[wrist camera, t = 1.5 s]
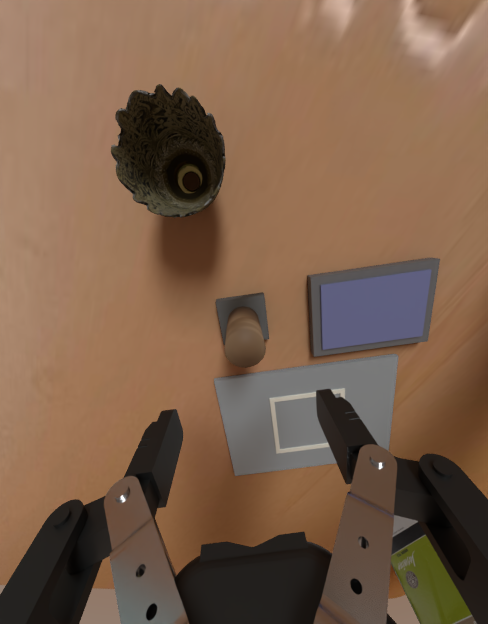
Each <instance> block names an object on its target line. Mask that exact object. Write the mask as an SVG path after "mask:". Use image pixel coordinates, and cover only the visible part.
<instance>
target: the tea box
mask: <svg viewBox="0 0 488 624" xmlns="http://www.w3.org/2000/svg"><path fill="white" fill-rule="evenodd" d="M391 564H392V567H393V569H394V571H395V573H396V575H397V577H398V579H399V581H400V583H401V585H402V587H403V589H404V591H405V594H406V596H407V598H408V600H409V602H410V604H411V606H412V608H413V610H414V612H415V614H416V616H417V618H418V620H419V622H420V624H477V623H476V621H475V619H474V618H473V616H472V614H471V612H470V611H469V609H468V607H467V605H466V604H465V602H464V600H463V599H462V597H461V595H460V593H459V592H458V590H457V588H456V586H455V585H454V583H453V581H452V579H451V578H450V576H449V574H448V573H447V571H446V569H445V567H444V566H443V564H442V562H441V560H440V559H439V557H438V555H437V553H436V552H435V550H434V548H433V547H432V545H431V543H430V541H429V540H428V538H427V536H426V534H425V533H424V531H423V529H422V527H421V526H420V524H419V522H418V521H416V520H412V519H408V518H404V517H400V516H396V515H394V526H393V539H392V553H391Z"/></svg>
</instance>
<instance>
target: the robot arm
mask: <svg viewBox="0 0 488 624" xmlns="http://www.w3.org/2000/svg"><path fill="white" fill-rule="evenodd" d="M316 408H317V417H318V421H319V423H320V426H321V428H322V430H323V433H324V435H325V437H326V439H327V442H328V444H329V446H330V448H331V451H332V453H333V455H334V458H335V460H336V462H337V464H338V467H339V469H340V471H341V474H342V476H343V478H344V480H345V483H346V484H351V488H350V492H348V493H347V496H346V500H345V504H344V508H343V512H342V516H341V520H340V524H339V528H338V533H337V537H336V541H335V545H334V549H333V553H330V552H329V551H328V550H326V549H325V548H323V547H321V546H319V545H317V544H314V543H312V542H307V541H306V537H305V533H304V532H298V533H290V534H283V535H278V536H276V537H274V538H272V539H270V540H268V541H266V542H264V543H262V544H260V545H258V546H255V547H248V546H244V545H239V544H235V543H230V542H220V543H213V544H205V545H201V554H200V556H198V557H197V558H195V559H194V560H192V561H191V562H190V563H188V564H187V565H186V566H185V567H184V568H183V569H182V570H181V571H180V572H179V573H178V575H176V572H175V570H174V567H173V565H172V562H171V560H170V557H169V555H168V552H167V549H166V547H165V544H164V541H163V538H162V536H161V533H160V530H159V528H158V525H157V522H156V520H155V515H156V511H157V508H162V507H166V504H167V500H168V496H169V492H170V488H171V484H172V481H173V477H174V473H175V469H176V465H177V461H178V457H179V453H180V449H181V445H182V441H183V429H182V426H181V423H180V419H179V416H178V413H177V410H176V409H173V410H165V411H162V412H161V413H160V416H159V418H158V421H157V422H152V423H151V424H150V426H149V427H148V428H147V429H146V430H145V432H144V434H143V437H142V439H141V441H140V443H139V445H138V448H137V450H136V452H135V454H134V456H133V458H132V461H131V463H130V465H129V467H128V469H127V472H126V474H125V476H124V478H122V479H121V480H119V481H118V482H116V483H115V484H114V485H113V486H112V487H111V488H110V490H109V491H108V492H107V494H106V496H104V497H102V498H100V499H98V500H95V501H93V502H91V503H89V504H87V505H83V503H82V502H81V501H80V500H76V499H75V500H70V501H68V502H66V503H64V504H62V505H61V506H60V507H58V508H57V509H56V510H55V511H54V512H53V513H52V514H51V515H50V516H49V517H48V518H47V520H46V521H45V523H44V524H43V526H42V528H41V529H40V531H39V533H38V534H37V536H36V537H35V539H34V541H33V542H32V544H31V546H30V547H29V549H28V550H27V552H26V554H25V555H24V557H23V559H22V560H21V562H20V563H19V565H18V567H17V568H16V570H15V572H14V573H13V575H12V576H11V578H10V580H9V581H8V583H7V585H6V586H5V588H4V589H3V591H2V593H1V594H0V624H79V622H80V620H81V617H82V614H83V611H84V609H85V606H86V603H87V600H88V597H89V595H90V592H91V590H92V587H93V584H94V581H95V579H96V576H97V573H98V570H99V568H100V565H101V562H102V560H103V559H104V558H106V557H108V556H110V563H111V569H112V575H113V581H114V586H115V592H116V597H117V604H118V609H119V615H120V621H121V624H396V623H395V621H394V620H393V619H392V618H391V617H390V616H389V615H388V614H387V607H388V593H389V580H390V566H391V553H392V539H393V526H394V515H396V516H400V517H404V518H408V519H412V520H416V521H418V522H419V524H420V526H421V527H422V529H423V531H424V533H425V534H426V536H427V538H428V540H429V541H430V543H431V545H432V547H433V548H434V550H435V552H436V553H437V555H438V557H439V559H440V560H441V562H442V564H443V566H444V567H445V569H446V571H447V573H448V574H449V576H450V578H451V579H452V581H453V583H454V585H455V586H456V588H457V590H458V592H459V593H460V595H461V597H462V599H463V600H464V602H465V604H466V605H467V607H468V609H469V611H470V612H471V614H472V616H473V618H474V619H475V621H476V623H477V624H488V499H487V498H486V497H485V496H484V495H483V493H482V492H481V491H480V490H479V489H478V488H477V487H476V485H475V484H474V483H473V482H472V481H471V480H470V479H469V478H468V476H467V475H466V474H465V473H464V472H463V471H462V470H461V469H460V468H459V467H458V466H457V465H456V464H455V463H454V462H452V461H451V460H449V459H447V458H445V457H443V456H440V455H437V454H425V455H423V456H422V457H421V458H420V462H418V461H412V460H407V459H401V458H397V457H395V456H393V455H392V454H391V453H390V452H389V451H388V450H386V449H385V448H383V447H381V446H379V445H378V444H377V442H376V441H375V439H374V438H373V436H372V435H371V433H370V432H369V430H368V429H367V427H366V426H365V424H364V423H363V422H362V420H361V419H360V417H359V416H358V414H357V413H356V412H355V410H354V408H353V407H352V405H351V404H350V403H349V402H348V401H347V400H345V399H344V398H343V397H337V398H336V397H335V395H334V394H333V392H332V390H331V389H322V390H316Z"/></svg>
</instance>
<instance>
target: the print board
mask: <svg viewBox="0 0 488 624" xmlns="http://www.w3.org/2000/svg"><path fill="white" fill-rule="evenodd" d="M397 364H398V355H396V354H390V355H382V356H375V357H368V358H360V359H353V360H346V361H338V362H331V363H324V364H316V365H309V366H302V367H294V368H287V369H280V370H272V371H265V372H258V373H250V374H243V375H236V376H228V377H221V378H214V383H215V388H216V392H217V397H218V401H219V406H220V410H221V415H222V419H223V424H224V428H225V433H226V437H227V442H228V446H229V451H230V455H231V460H232V464H233V469H234V473H235V476H239V475H247V474H255V473H263V472H271V471H279V470H286V469H294V468H302V467H310V466H318V465H326V464H334V463H337V462H336V460H335V458H334V455H333V453H332V451H331V448H330V446H329V444H328V442H327V439H326V437H325V435H324V433H323V430H322V428H321V426H320V423H319V421H318V417H317V408H316V390H322V389H331V390H332V392H333V394H334V395H335V397H336V398H337V397H343V398H344V399H345V400H347V401H348V402H349V403H350V404H351V405H352V407H353V408H354V410H355V412H356V413H357V414H358V416H359V417H360V419H361V420H362V422H363V423H364V424H365V426H366V427H367V429H368V430H369V432H370V433H371V435H372V436H373V438H374V439H375V441H376V442H377V444H378V445H379V446H381V447H383V448H385V449H386V450H388V451H389V442H390V432H391V423H392V413H393V403H394V393H395V384H396V374H397Z"/></svg>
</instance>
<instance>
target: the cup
mask: <svg viewBox="0 0 488 624" xmlns="http://www.w3.org/2000/svg"><path fill="white" fill-rule="evenodd" d="M154 92H156V93H155V94H154V93H148V92H146V91H141V90H136V91H133V92H132V93H131V95H130V97H129V99H128V103H127V107H126V110H125V109H122V108H121V109H119V110H118V111H117V112H116V120H117V122H118V125H119V126H120V128H121V133H120V134H119V135H118V139H119V144H118V146H115V144H114V145H112V147H111V154H112V156H113V158H114V159H115V160H116V161H117V164H116V173H117V176H118V179H119V180H120V182H121V183H122V184H123V185H124V186H125V187H126V188H127V189H128V190H129V191H130V192H131V193H132V194H134V195H133V199H134V201H136V202H137V203H141V204H144V205H146V206H147V209H148V210H149V211H150V212H152V213H154V214H157V215H159V214H160V215H162V216H165V217H186V216H189V215H193V214H196V213H198V212H201V211H202V210H204V209H205V208H207V207H208V206H209V205H210V204H211V203H212V202H213V201H214V199H215V198H216V196H217V194H218V192H219V190H220V187H221V183H222V180H223V174H224V169H225V147H224V140H223V136H222V134H221V133H220V132H219V131H218V130H217V128H216V124H215V120H214V117H213V115H212V114H211V113H207V114H208V115H206V113H205V110H204V108H203V107H202V106H201V105H200V103H199V101H198V100H197V99H196V98H195V97H194V96H191V97H190V98H189V96H188V94H187V93H186V92H184V91H183V90H182V89H181V88H176V89H175V90H174V91H173V93H172V96H171V95H170V94H169V93H168V92H167V91H166V89H165V88H164V87H163V86H162V85H161V84H159V85H157V86H156V89H155V91H154ZM188 172H193V173H195V174H197V176H198V177H199V180H200V185H199V187H198V189H196V190H195V191H190V190H188V189H186V187H185V186H184V184H183V178H184V176H185V174H187V173H188Z"/></svg>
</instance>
